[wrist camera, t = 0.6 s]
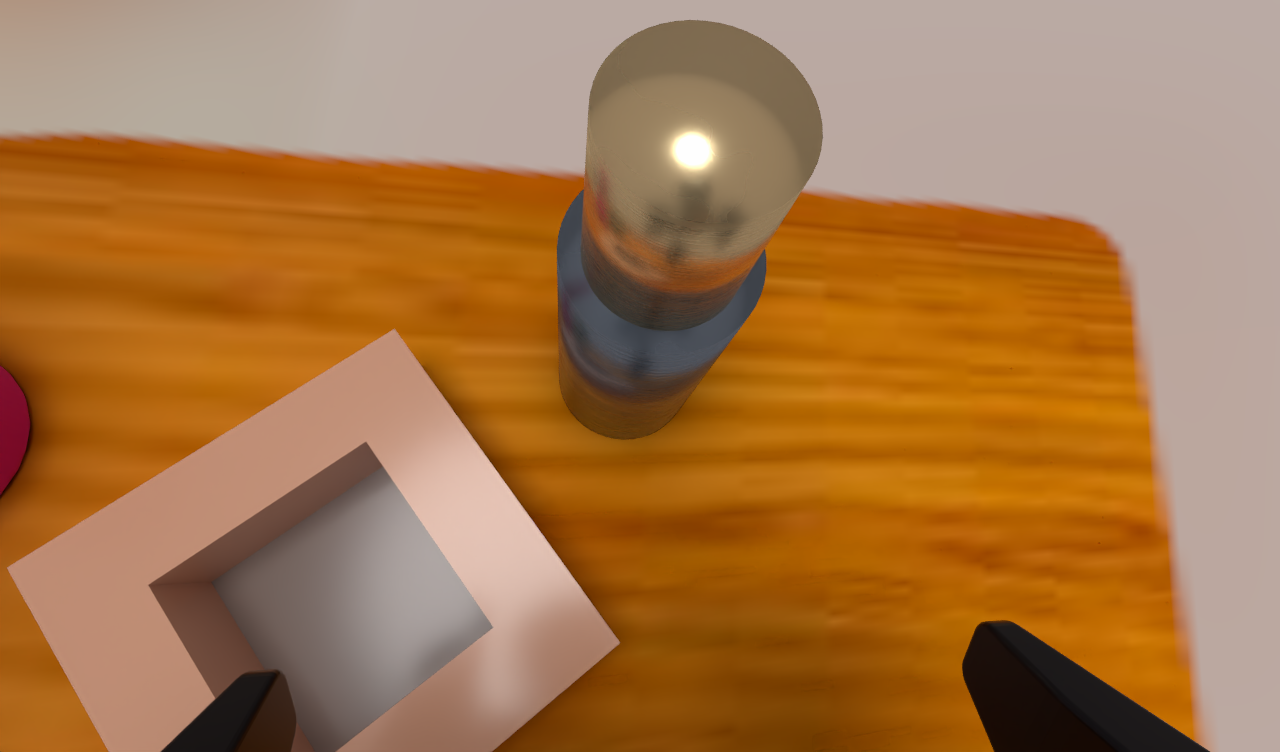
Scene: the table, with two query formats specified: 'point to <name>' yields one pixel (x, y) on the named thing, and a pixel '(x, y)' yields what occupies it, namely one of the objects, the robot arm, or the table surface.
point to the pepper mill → (12, 427)
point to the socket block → (321, 579)
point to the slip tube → (675, 215)
